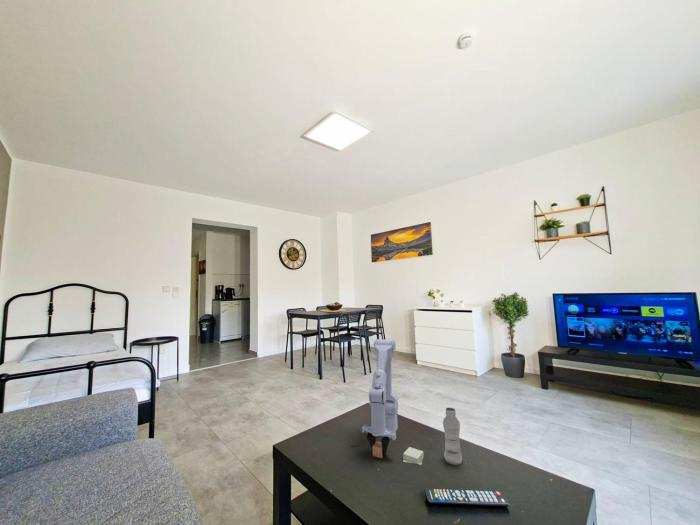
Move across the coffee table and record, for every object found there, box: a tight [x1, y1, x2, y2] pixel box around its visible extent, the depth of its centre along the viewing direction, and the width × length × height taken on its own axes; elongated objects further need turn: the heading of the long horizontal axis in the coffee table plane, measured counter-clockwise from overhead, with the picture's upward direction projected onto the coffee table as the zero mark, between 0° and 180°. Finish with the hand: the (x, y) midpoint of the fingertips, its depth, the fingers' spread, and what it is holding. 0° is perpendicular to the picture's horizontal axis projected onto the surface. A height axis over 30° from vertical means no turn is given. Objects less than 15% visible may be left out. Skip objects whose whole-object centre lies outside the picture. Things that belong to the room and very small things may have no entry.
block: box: [372, 440, 384, 459], centre depth 113 cm, size 4×4×5 cm
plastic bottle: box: [442, 407, 463, 466], centre depth 109 cm, size 6×7×20 cm
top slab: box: [402, 446, 425, 465], centre depth 110 cm, size 6×6×2 cm
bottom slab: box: [402, 457, 424, 466], centre depth 110 cm, size 7×7×2 cm
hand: (379, 454), depth 113 cm, fingers closed on block, 4 cm apart
